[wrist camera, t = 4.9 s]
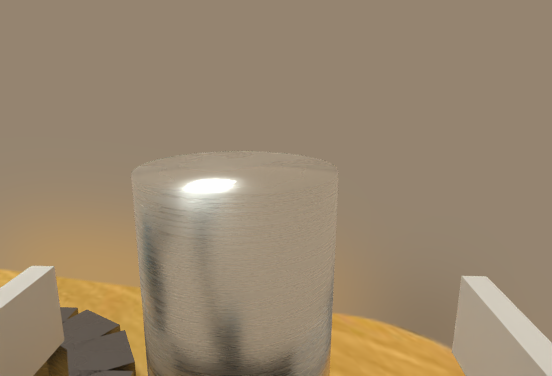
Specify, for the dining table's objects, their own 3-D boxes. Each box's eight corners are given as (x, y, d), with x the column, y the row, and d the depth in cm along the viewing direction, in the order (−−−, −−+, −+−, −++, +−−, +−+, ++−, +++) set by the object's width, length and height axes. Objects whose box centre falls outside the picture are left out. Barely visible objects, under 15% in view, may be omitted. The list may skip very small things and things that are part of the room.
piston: (139, 628, 11) (91, 192, 8) (185, 461, 16) (166, 150, 13) (328, 638, 11) (352, 196, 8) (316, 466, 16) (329, 151, 13)
